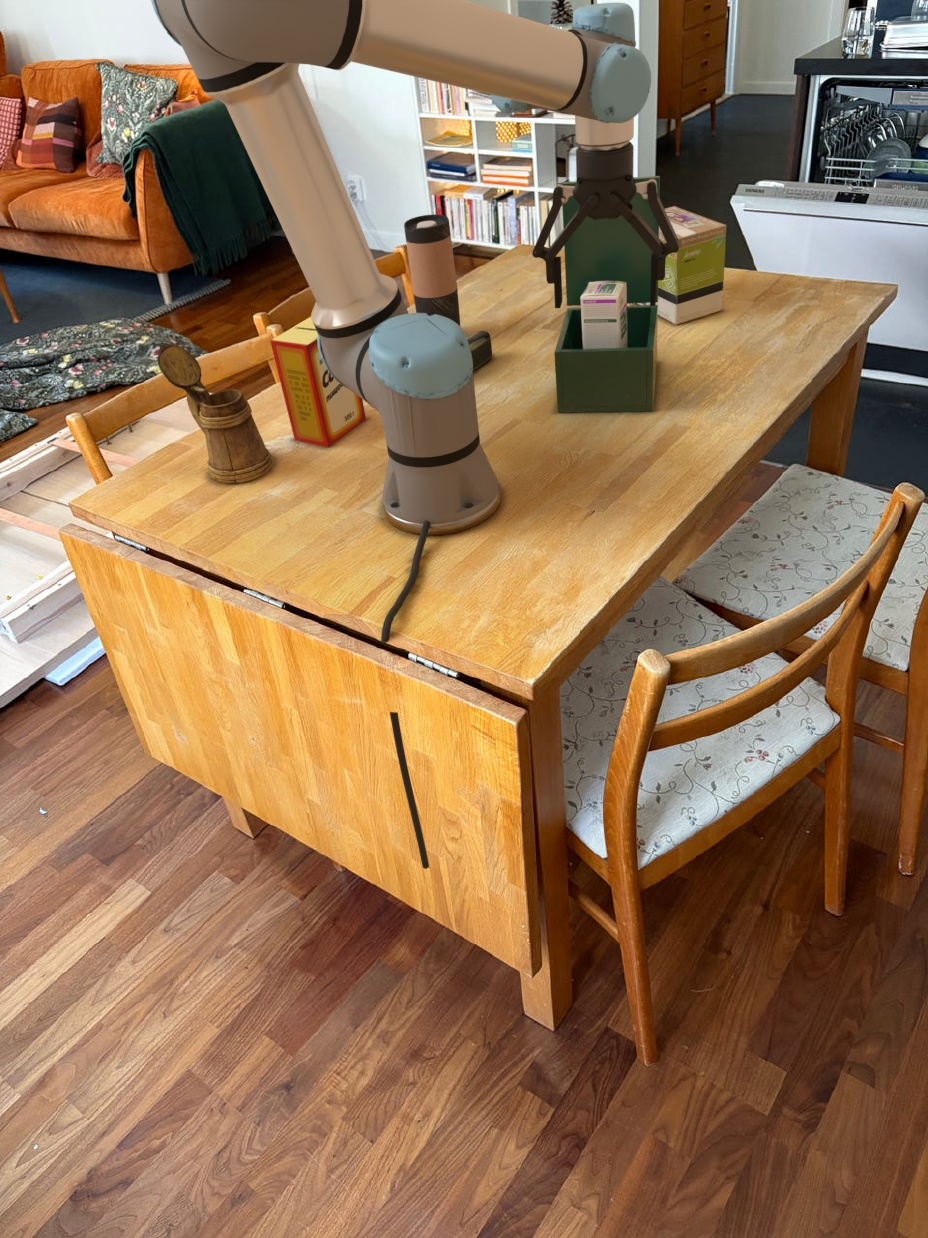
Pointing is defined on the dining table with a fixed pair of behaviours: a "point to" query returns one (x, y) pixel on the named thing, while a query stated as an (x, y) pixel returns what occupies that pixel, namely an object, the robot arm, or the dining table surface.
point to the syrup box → (604, 315)
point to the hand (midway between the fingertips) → (605, 303)
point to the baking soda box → (313, 389)
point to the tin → (607, 366)
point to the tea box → (692, 268)
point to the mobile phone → (480, 348)
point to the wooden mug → (218, 420)
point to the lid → (609, 251)
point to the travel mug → (432, 266)
